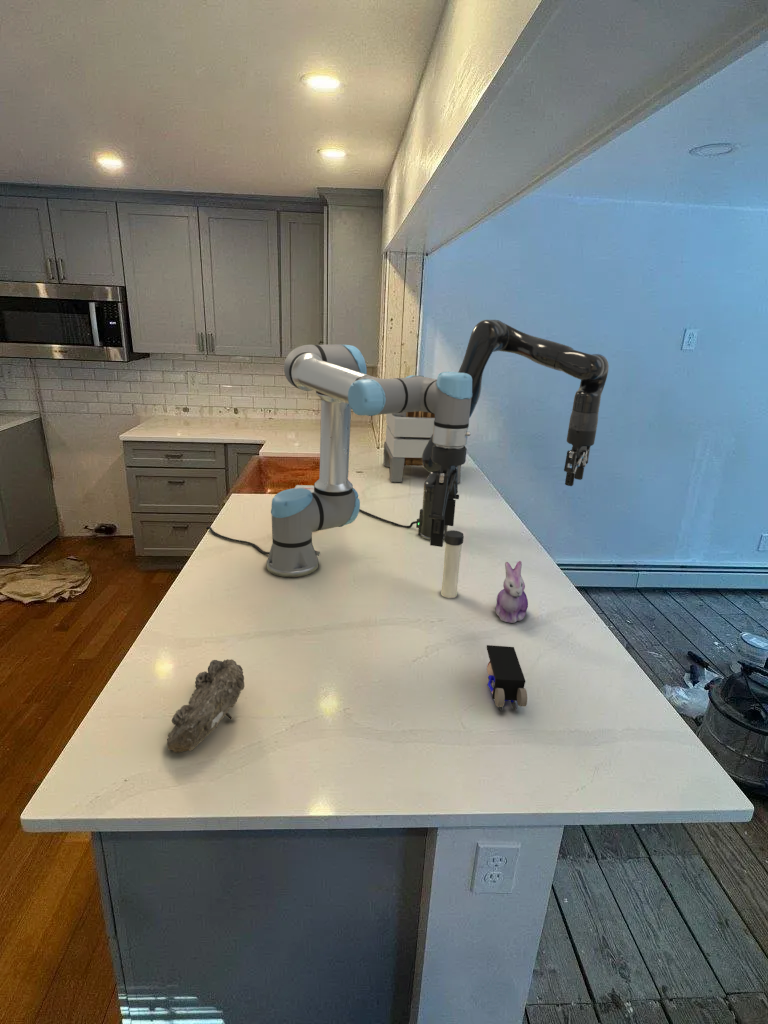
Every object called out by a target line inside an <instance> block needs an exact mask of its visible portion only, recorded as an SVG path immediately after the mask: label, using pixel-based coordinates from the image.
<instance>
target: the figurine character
mask: <svg viewBox="0 0 768 1024" xmlns="http://www.w3.org/2000/svg"><path fill="white" fill-rule="evenodd" d="M485 648H486V651H487V655H488V659H489V661H488V663H487V665H486V672H487V674H488V677H487V678H488V681H487V686H488V689H489V690H490V693H491V699H492V700H494V704H495V705H494V706H495V707H497V708H498V709H499V710H500V711H501V712H502V711H503V707H504V706H505V703H506V702H510V704H511V708H512V711H514V712H516V711H517V710H518V709H517V708H518V707H523V708H524V707H527V705H528V692H527V688H525V684H526V678H525V675H524V673H523V669H522V667H521V664H520V660H519V658H518V654H517V652H516V649H515V646H508V645H507V646H506V645H493V644H491V645H490V644H486V647H485ZM492 684H493V685H492ZM516 703H517V704H516ZM517 706H518V707H517Z"/></svg>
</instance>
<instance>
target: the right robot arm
mask: <svg viewBox="0 0 768 1024" xmlns="http://www.w3.org/2000/svg"><path fill="white" fill-rule="evenodd" d="M467 343H468V344H467V347H466V350H465V354H464V357H463V360H462V363H461V364H460V367H459V370H458V373H467V374H469V375H470V376H471V377H472V398H471V407H470V417H469V419H470V418H471V417H472V415H473V414H474V411H475V409H476V407H477V404H478V402H479V400H480V397H481V392H482V381H483V375H484V371H485V368H486V366H487V364H488V362H489V359H490V358H491V356H492V354H493V353H495V352H505V353H511V354H515V355H518V356H521V357H524V358H526V359H528V360H530V361H531V362H533V363H535V364H538V365H540V366H542V367H545V368H549V369H552V370H555V371H559V372H562V373H564V374H566V375H568V376H571V377H573V378H575V379H577V380H580V383H579V387H578V389H577V390H576V391H575V394H574V397H573V403H572V410H571V414H570V417H569V422H568V429H567V436H566V442H567V444H569V445H571V446H572V447H571V449H570V450H569V449H568V450H567V451H566V456H565V462H564V468H563V471H564V472H565V473H566V475H565V481H564V485H565V486H567V487H573V486H574V483H575V480H579V481H582V480H583V478H584V472H585V468H586V467H587V465H588V463H589V458H590V451H591V447H593V446H594V444H595V441H596V436H597V435H596V434H597V430H598V423H599V412H600V406H601V400H602V394H603V392H604V389H605V385H606V382H607V379H608V375H609V367H610V366H609V361H608V359H607V358H606V356H605V355H603V354H602V353H601V354H600V353H592V354H591V353H587V352H583V351H579V350H576V349H574V348H573V347H572V346H569V345H566V344H563V343H560V342H556V341H552V340H550V339H545V338H542V337H537V336H534V335H531V334H528V333H526V332H523V331H521V330H518V329H517V328H514V326H513V327H512V326H510V325H509V324H507V323H505V322H503V321H501V320H499V319H483V320H481V321H479V322H478V323H476V324H475V326H474V328H473V329H472V331H471V333H470V336H469V340H468V342H467ZM433 445H434V443H433V434H432V436H431V438H430V440H429V442H428V444H427V445H426V447H425V449H424V451H423V454H422V464H423V466H422V467H423V468H424V470H425V471H427V472H428V473H429V474H428V476H427V477H426V478H425V480H424V482H423V493H422V496H423V497H422V506H421V508H420V509H419V516H418V518H416V520H415V521H412V522H411V523H410V524H409V525H403V524H399V523H397V522H394V521H391V520H388V519H385V518H382V517H380V516H377V515H375V514H372V513H369V512H367V511H365V510H363V509H361V508H360V509H359V513H362V514H365V515H367V516H369V517H372V518H375V519H377V520H379V521H382V522H384V523H387V524H390V525H394V526H397V527H400V528H405V529H410V528H412V527H413V525H415V524H416V526H415V527H416V529H418V530H417V535H418V536H420V538H421V539H424V540H426V541H430V539H431V526H432V518H429V514H431V510H432V503H433V497H434V491H435V484H436V474H437V472H438V471H439V470H440V468H441V466H440V465H439V464H436V463H434V462H433V461H432V446H433ZM437 514H440V513H437ZM448 527H449V526H447V525H444V537H443V541H444V539H445V532H447V531H448Z"/></svg>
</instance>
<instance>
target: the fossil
mask: <svg viewBox="0 0 768 1024" xmlns="http://www.w3.org/2000/svg"><path fill="white" fill-rule="evenodd" d="M243 670H244V669H243V667H242V665H240V664H237V662H236V661H235V660H234V659H232V658H231V659H227V658H226V659H224V660H223V661H222V660H217V659H212V660H211V661H210V663H209V665H208V666H207V671H201V672H199V673H198V674H197V675H196V676H195V680H194V684H195V685H194V687H195V689H194V690H193V693H192V694H191V697H190V698H189V700H188V704H184V705H182V706H181V707H180V709H177V710H176V711H175V713H174V715H173V716H172V718H171V723H172V724H173V727H172V730H171V731H170V732H168V734H167V738H166V741H167V742H166V745H167V749H168V750H169V751H173V752H174V753H176V754H178V753H182V752H188V751H189V752H192V751H193V750H195V748H196V747H197V746H199V744H200V743H201V742H203V741H204V740H205V739H206V738H207V737H208V736H209V735H210V734H211V733H212V732H214V730H215V729H217V727H218V726H219V724H220V722H221V721H222V720H223V719H224V718H225V716H226V717H227V719H229V720H233V717H232V715H230V714H229V710H230V709H231V708H234V706H235V704H236V703H237V702H238V699H239V697H240V695H241V693H242V691H243V690H245V689H244V688H245V675H244V671H243Z"/></svg>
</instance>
